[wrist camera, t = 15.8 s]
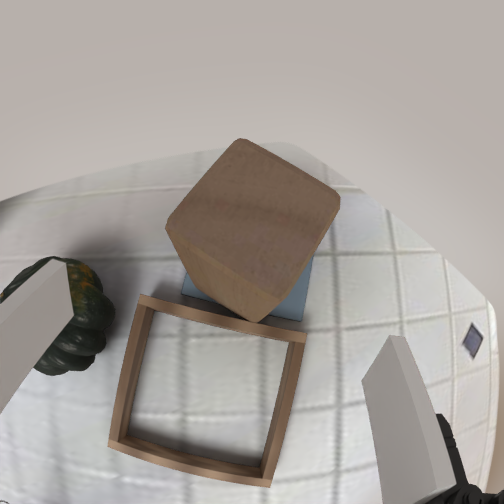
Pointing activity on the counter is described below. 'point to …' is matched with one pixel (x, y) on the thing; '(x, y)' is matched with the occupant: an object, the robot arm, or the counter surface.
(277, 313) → the rubber mat
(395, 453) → the robot arm
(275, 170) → the block
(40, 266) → the squash
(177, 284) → the counter surface
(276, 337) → the walnut frame
